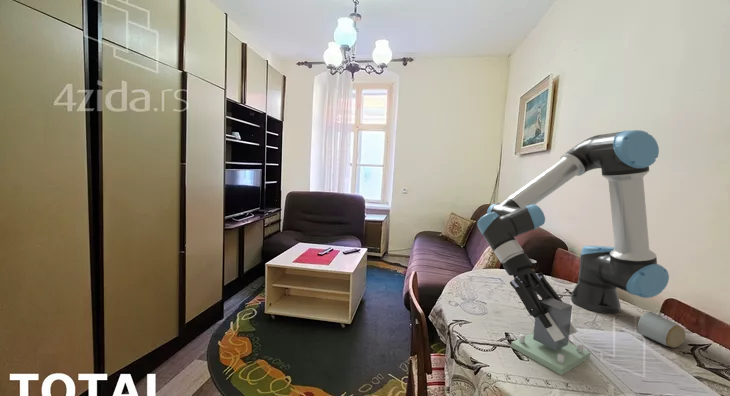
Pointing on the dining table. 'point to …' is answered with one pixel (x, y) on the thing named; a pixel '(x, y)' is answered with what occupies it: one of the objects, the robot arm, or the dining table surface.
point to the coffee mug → (534, 265)
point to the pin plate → (551, 353)
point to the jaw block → (561, 318)
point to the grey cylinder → (661, 330)
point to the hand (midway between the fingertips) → (566, 336)
